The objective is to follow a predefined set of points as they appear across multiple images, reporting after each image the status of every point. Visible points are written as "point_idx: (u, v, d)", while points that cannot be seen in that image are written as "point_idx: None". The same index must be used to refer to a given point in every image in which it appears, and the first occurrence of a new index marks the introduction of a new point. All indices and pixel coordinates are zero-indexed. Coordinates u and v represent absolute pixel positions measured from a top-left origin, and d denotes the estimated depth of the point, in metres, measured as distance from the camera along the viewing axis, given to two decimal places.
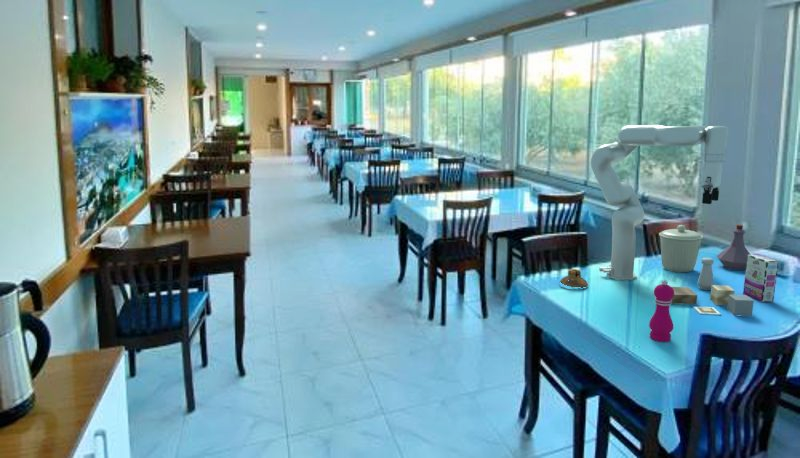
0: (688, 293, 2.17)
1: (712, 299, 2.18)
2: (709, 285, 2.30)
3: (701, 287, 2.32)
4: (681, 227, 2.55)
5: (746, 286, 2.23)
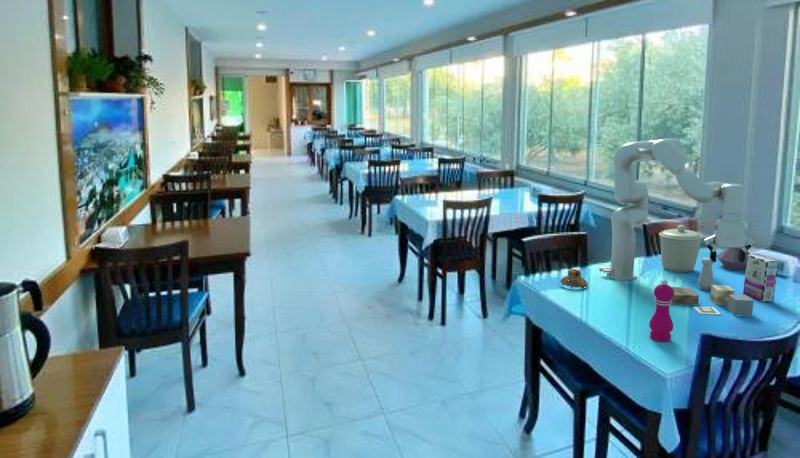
0: (689, 293, 2.16)
1: (712, 299, 2.18)
2: (709, 285, 2.30)
3: (701, 287, 2.32)
4: (681, 227, 2.55)
5: (746, 286, 2.23)
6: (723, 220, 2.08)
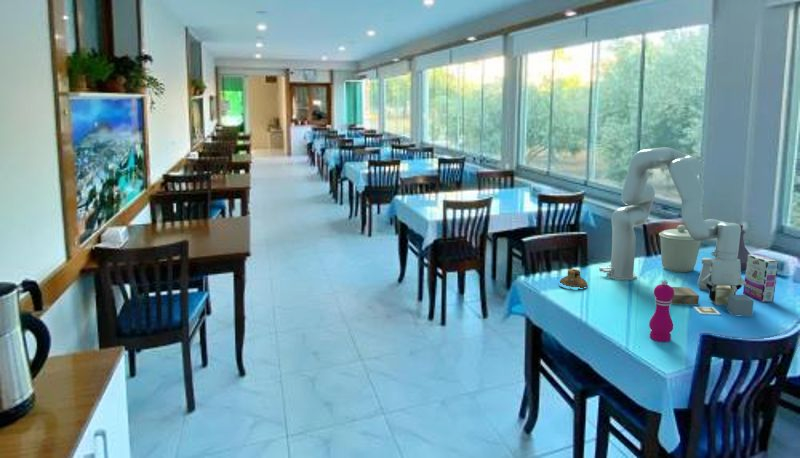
0: (690, 293, 2.16)
1: None
2: None
3: (701, 287, 2.32)
4: (681, 227, 2.55)
5: (746, 286, 2.23)
6: (719, 258, 2.11)
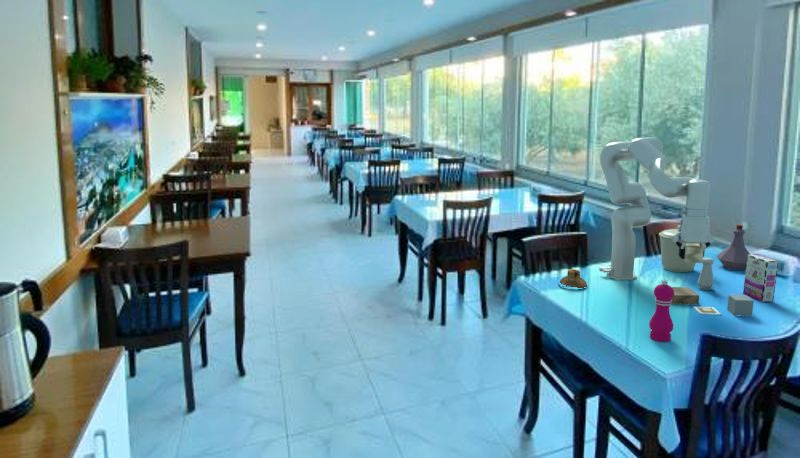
0: (690, 293, 2.16)
1: None
2: (709, 285, 2.30)
3: (701, 287, 2.32)
4: None
5: (746, 286, 2.23)
6: (688, 216, 2.11)
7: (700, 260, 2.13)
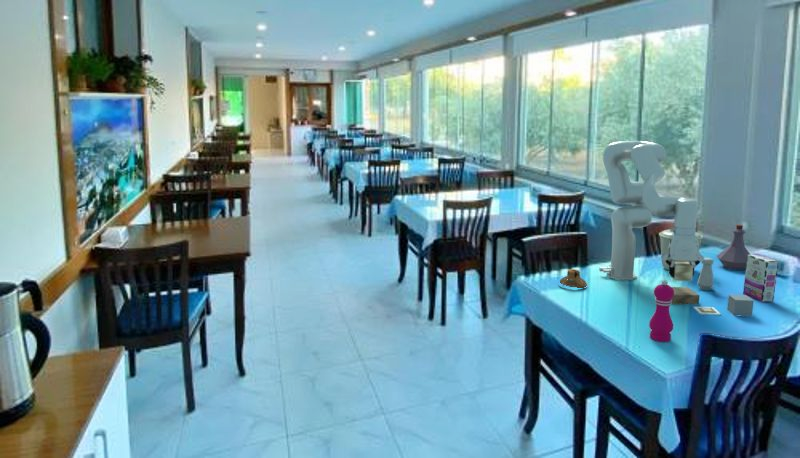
0: (690, 293, 2.16)
1: None
2: (709, 285, 2.30)
3: (701, 287, 2.32)
4: None
5: (746, 286, 2.23)
6: (677, 234, 2.14)
7: (690, 278, 2.15)
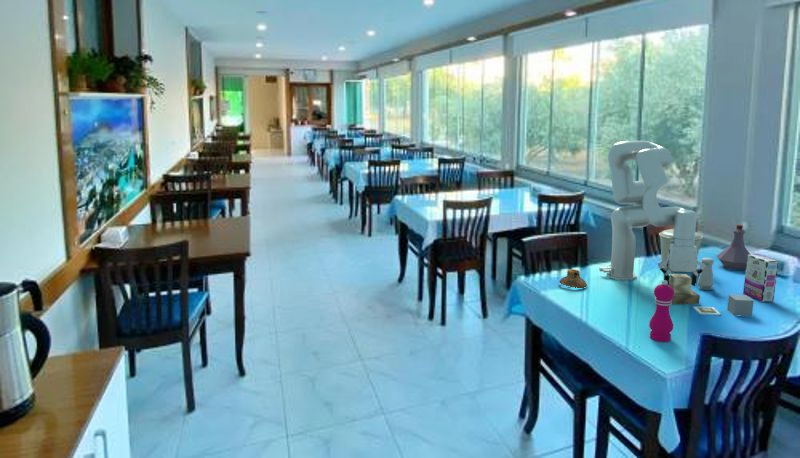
0: (690, 293, 2.16)
1: None
2: (709, 285, 2.30)
3: (701, 287, 2.32)
4: None
5: (746, 286, 2.23)
6: (676, 245, 2.15)
7: (688, 291, 2.16)
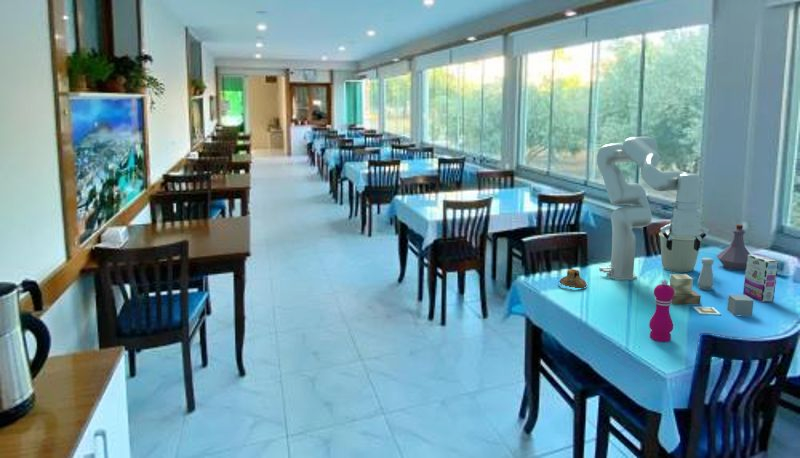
0: (691, 294, 2.16)
1: None
2: (709, 285, 2.30)
3: (701, 287, 2.32)
4: None
5: (746, 286, 2.23)
6: (679, 209, 2.12)
7: (689, 291, 2.16)
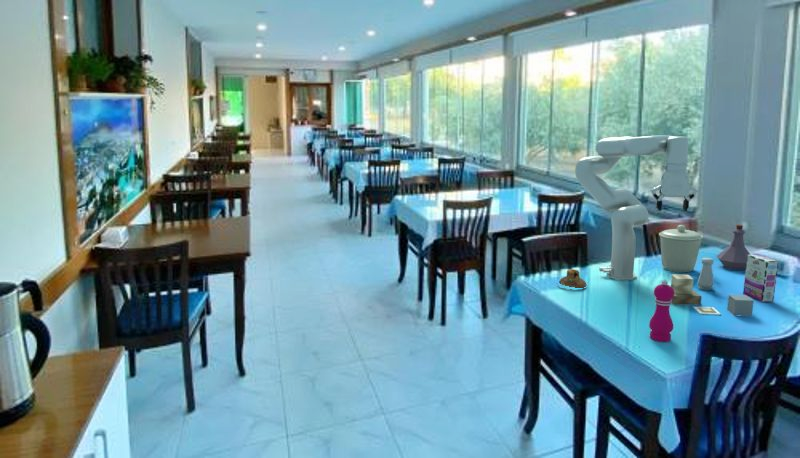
0: (692, 294, 2.16)
1: None
2: (709, 285, 2.30)
3: (701, 287, 2.32)
4: (681, 227, 2.55)
5: (746, 286, 2.23)
6: (668, 170, 2.22)
7: (690, 291, 2.16)
